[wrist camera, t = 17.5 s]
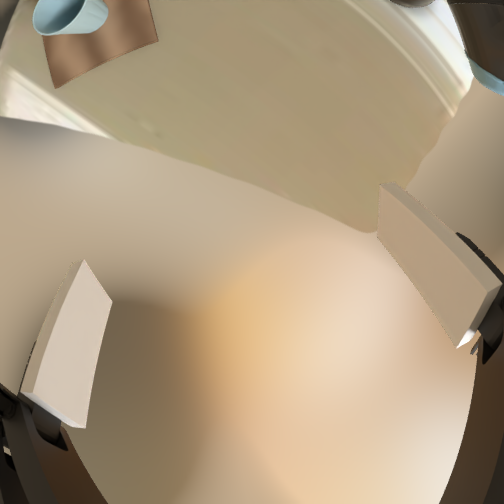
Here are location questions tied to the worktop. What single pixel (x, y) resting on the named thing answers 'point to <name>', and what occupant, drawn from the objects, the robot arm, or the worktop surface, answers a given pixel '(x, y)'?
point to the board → (101, 40)
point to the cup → (69, 16)
